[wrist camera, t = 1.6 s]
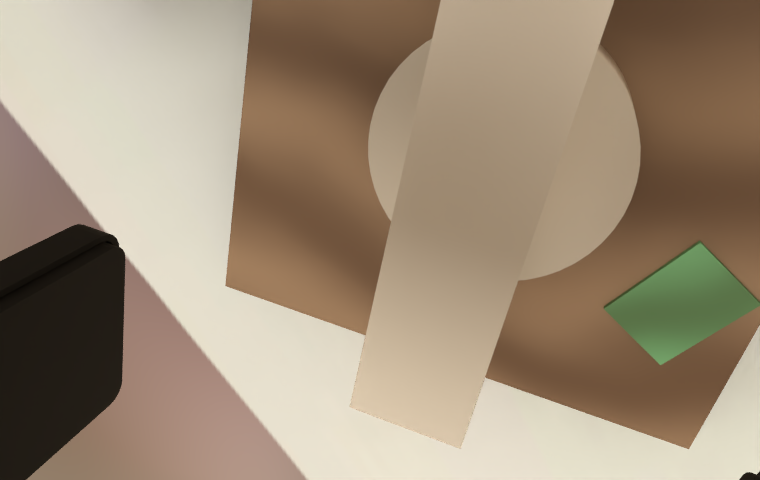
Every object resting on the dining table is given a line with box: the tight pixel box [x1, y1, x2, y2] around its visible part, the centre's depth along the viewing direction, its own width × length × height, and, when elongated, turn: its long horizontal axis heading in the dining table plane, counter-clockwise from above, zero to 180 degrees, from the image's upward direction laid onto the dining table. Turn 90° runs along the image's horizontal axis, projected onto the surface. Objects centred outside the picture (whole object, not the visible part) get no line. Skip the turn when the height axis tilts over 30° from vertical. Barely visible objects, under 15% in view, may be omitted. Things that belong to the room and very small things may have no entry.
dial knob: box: [350, 0, 641, 449], centre depth 19 cm, size 16×8×9 cm, turn 168°
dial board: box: [226, 0, 760, 449], centre depth 22 cm, size 20×20×2 cm
